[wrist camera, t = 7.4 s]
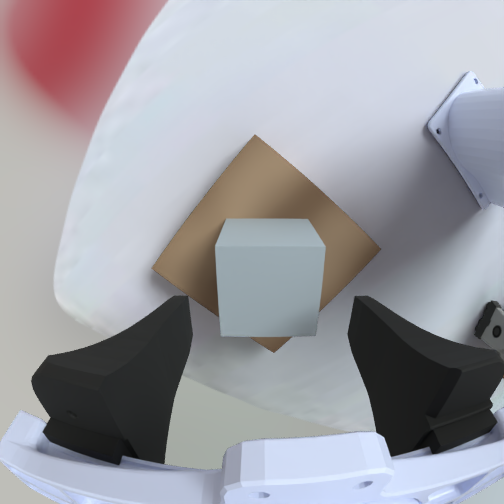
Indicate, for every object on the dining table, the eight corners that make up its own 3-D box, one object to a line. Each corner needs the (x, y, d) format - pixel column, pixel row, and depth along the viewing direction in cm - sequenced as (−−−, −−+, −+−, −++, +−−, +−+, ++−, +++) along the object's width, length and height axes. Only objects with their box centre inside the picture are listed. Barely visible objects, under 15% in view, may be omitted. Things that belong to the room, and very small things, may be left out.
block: (308, 219, 18) (325, 246, 13) (303, 291, 19) (315, 335, 15) (226, 218, 18) (214, 246, 13) (228, 291, 20) (220, 336, 15)
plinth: (368, 237, 21) (381, 249, 18) (272, 333, 24) (273, 352, 21) (255, 135, 18) (254, 134, 16) (162, 254, 21) (151, 268, 19)
